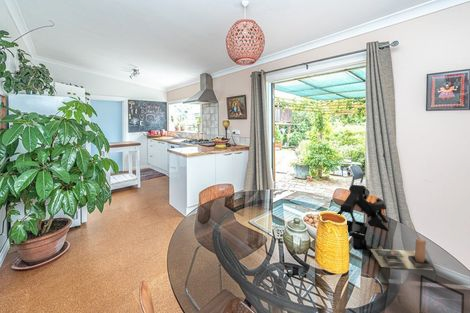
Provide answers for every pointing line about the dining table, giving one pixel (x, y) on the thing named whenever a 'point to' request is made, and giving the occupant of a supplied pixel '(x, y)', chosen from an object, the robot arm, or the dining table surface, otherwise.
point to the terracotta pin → (420, 251)
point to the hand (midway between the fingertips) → (387, 226)
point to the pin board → (399, 259)
